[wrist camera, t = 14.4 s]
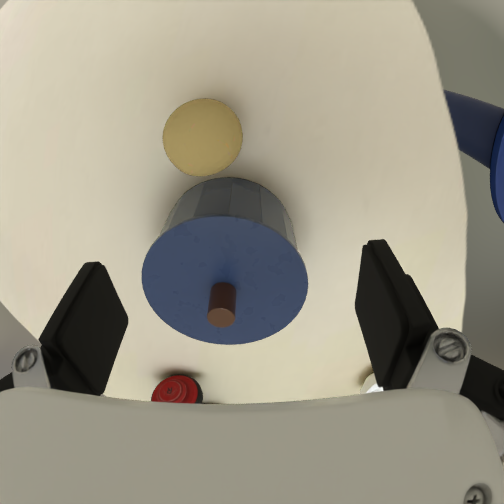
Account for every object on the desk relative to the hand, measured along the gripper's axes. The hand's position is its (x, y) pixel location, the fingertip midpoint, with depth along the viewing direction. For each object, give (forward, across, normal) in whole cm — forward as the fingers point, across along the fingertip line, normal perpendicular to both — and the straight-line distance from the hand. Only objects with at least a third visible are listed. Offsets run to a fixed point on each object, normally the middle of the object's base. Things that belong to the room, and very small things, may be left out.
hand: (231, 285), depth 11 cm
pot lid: (+14, +3, +12) cm, 19 cm away
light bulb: (+24, +3, -2) cm, 24 cm away
